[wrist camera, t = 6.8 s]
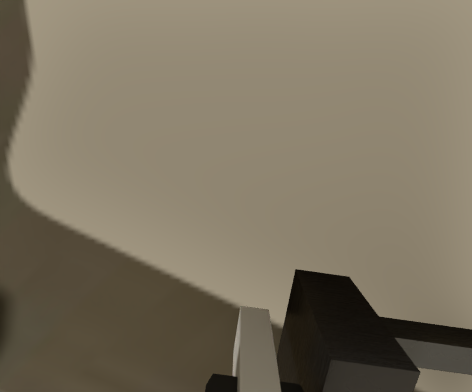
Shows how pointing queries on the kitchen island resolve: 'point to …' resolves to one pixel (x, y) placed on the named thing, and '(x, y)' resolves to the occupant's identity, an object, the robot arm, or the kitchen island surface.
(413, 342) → the lopsided grey dumbbell
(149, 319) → the kitchen island surface
